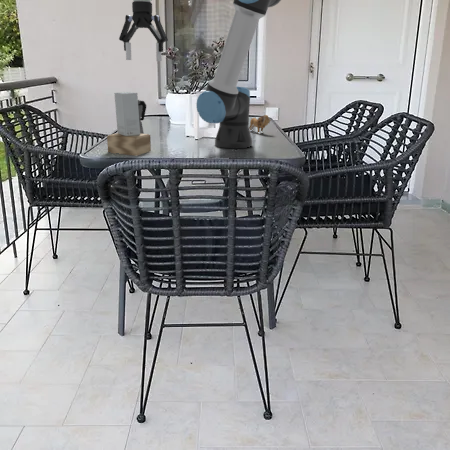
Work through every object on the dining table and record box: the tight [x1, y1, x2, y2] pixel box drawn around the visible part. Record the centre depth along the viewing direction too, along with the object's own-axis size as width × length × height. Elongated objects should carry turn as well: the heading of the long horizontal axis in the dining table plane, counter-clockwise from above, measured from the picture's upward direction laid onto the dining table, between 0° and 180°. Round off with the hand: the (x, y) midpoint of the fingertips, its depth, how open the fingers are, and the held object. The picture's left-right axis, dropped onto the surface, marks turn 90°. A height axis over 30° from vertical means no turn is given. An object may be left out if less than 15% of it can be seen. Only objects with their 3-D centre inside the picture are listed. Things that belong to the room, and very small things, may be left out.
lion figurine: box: [249, 114, 272, 133], centre depth 228 cm, size 15×5×9 cm, turn 40°
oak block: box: [106, 132, 152, 157], centre depth 174 cm, size 12×10×6 cm
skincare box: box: [114, 91, 140, 136], centre depth 171 cm, size 8×6×15 cm
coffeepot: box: [138, 99, 147, 134], centre depth 206 cm, size 15×9×18 cm, turn 49°
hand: (143, 60), depth 188 cm, fingers open, 13 cm apart
